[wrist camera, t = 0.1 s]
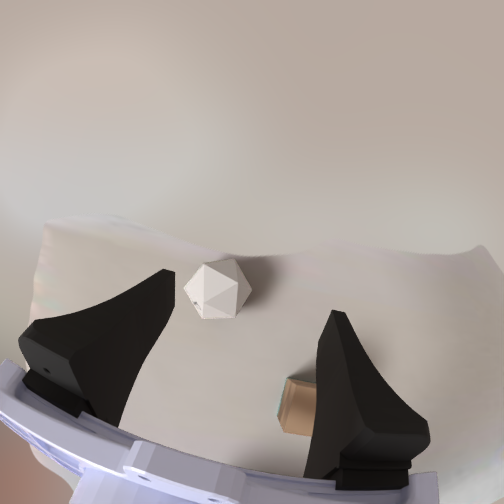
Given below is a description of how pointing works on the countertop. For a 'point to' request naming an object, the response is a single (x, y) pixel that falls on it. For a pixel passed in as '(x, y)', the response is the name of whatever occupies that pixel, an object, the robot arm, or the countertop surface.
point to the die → (218, 289)
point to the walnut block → (298, 407)
